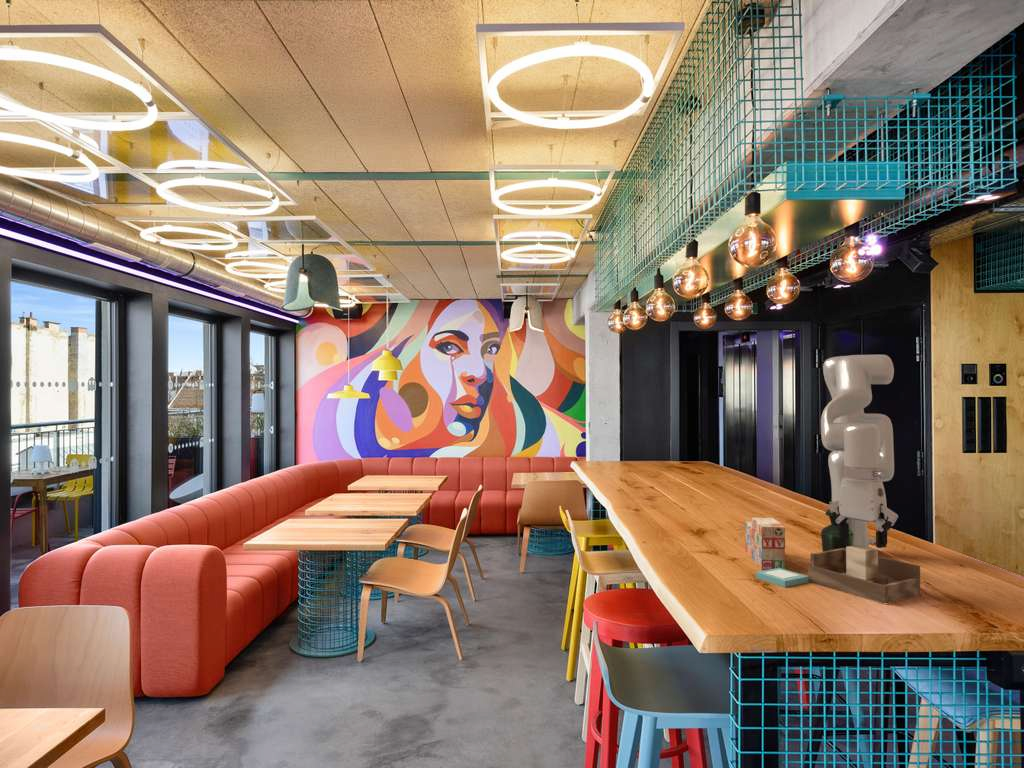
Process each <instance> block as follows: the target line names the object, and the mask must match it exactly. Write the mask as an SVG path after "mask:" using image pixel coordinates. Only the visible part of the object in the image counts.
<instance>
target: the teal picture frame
mask: <svg viewBox="0 0 1024 768" xmlns="http://www.w3.org/2000/svg"><path fill="white" fill-rule="evenodd" d="M755 579H758V580H761V581H763V582H767V583H770V584H774V585H777V586H780V587H783V588H788V587H792V586H797V585H801V584H806V583H810V582H809V576H808V575H806V574H805V575H804V574H801V573H798V572H794V571H791V570H788V569H786V568H785V569H781V568H775V569H770V570H759V571H756V572H755Z"/></svg>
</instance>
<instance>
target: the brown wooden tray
mask: <svg viewBox="0 0 1024 768" xmlns="http://www.w3.org/2000/svg"><path fill="white" fill-rule="evenodd" d="M807 576H809V582H808V583H813V584H815V585H817V586H821V587H822V586H823V587H826V588H829V589H832V590H836V591H839V592H842V591H843V592H842V593H846V594H848V595H849V594H850V595H852V594H853V595H854V596H856V597H859V596H860V598H862V597H863V599H866V600H869V599H870V601H873V600H874V601H873V602H876V601H878V602H877V603H879V602H882V603H881V604H883V603H888V604H890V603H889V602H892V603H894V602H893V601H896V602H898V601H897V600H900V601H902V600H901V599H904V600H906V599H905V598H908V599H911V598H914V596H915V597H919V596H921V565H918V564H917V565H916V564H913V563H908V562H904V561H900V560H896V559H892V558H887V557H882V556H879V555H878V577H877V578H872V579H868V580H864V579H860V578H857V577H853V576H849V575H846V549H844V548H840V549H834V550H829V551H823V550H822V551H818V552H812V553H810V565H807ZM918 595H919V596H918ZM910 597H911V598H910Z"/></svg>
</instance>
